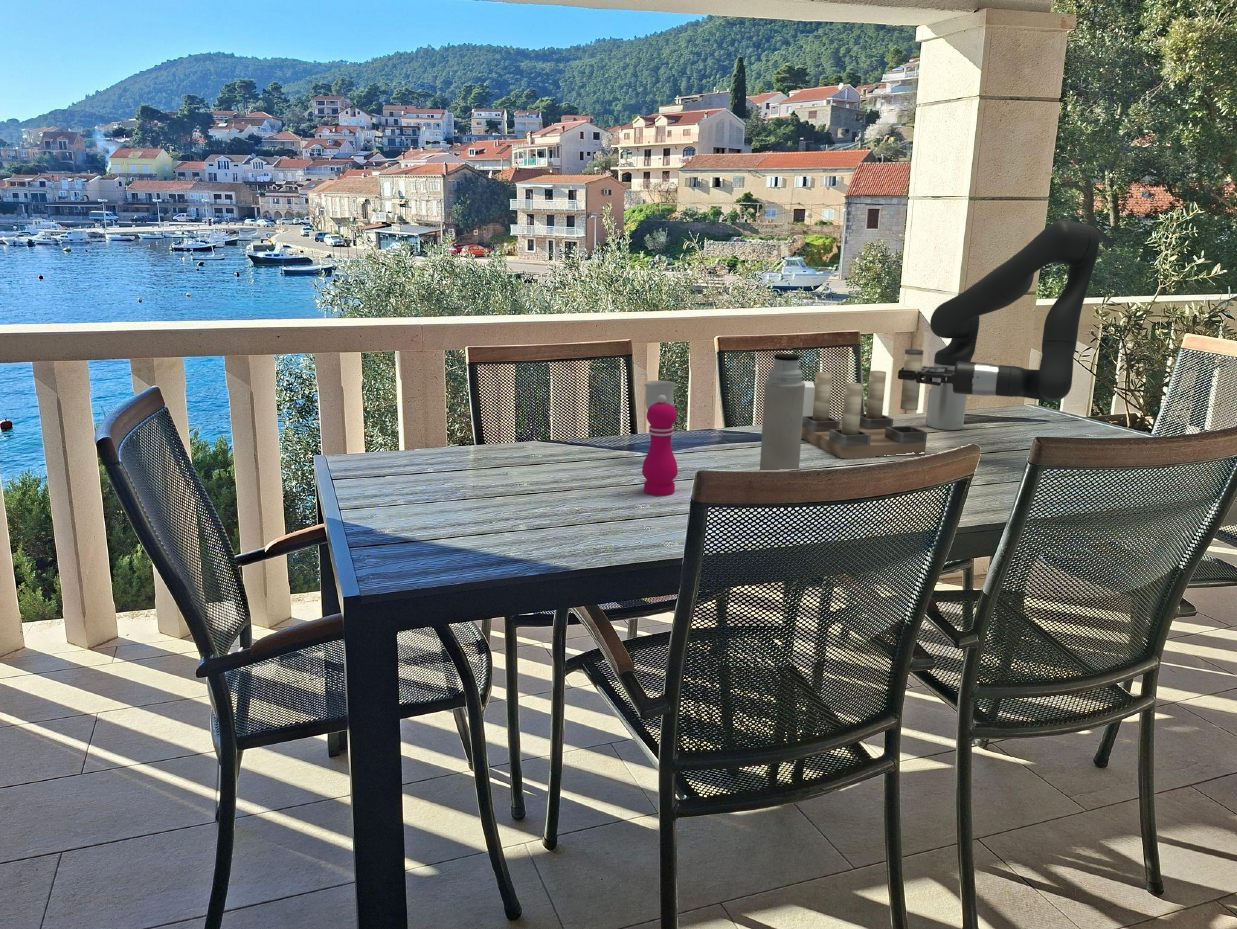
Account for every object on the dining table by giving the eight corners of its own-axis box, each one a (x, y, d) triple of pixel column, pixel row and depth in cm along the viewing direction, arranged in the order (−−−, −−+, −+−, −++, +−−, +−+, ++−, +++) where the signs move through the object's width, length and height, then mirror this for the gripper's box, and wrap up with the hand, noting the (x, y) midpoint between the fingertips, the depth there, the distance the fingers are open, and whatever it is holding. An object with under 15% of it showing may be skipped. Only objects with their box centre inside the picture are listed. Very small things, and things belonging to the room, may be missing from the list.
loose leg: (896, 407, 228) (901, 349, 225) (911, 406, 229) (917, 348, 226) (906, 410, 224) (911, 351, 221) (921, 410, 225) (926, 351, 222)
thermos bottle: (768, 480, 203) (776, 350, 195) (803, 487, 199) (813, 353, 191) (752, 489, 196) (760, 354, 189) (788, 496, 192) (798, 358, 185)
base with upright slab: (787, 424, 257) (790, 380, 254) (821, 426, 256) (824, 382, 253) (788, 431, 248) (791, 386, 245) (823, 433, 247) (826, 388, 244)
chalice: (677, 459, 218) (680, 382, 214) (666, 466, 212) (669, 387, 208) (648, 455, 221) (650, 379, 217) (636, 462, 215) (638, 384, 211)
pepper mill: (663, 498, 189) (666, 399, 183) (634, 491, 193) (636, 395, 188) (683, 490, 194) (687, 394, 189) (654, 484, 198) (657, 390, 193)
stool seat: (800, 437, 242) (804, 371, 238) (877, 433, 248) (883, 369, 243) (842, 459, 222) (848, 387, 217) (924, 454, 227) (932, 384, 223)
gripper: (980, 358, 224) (905, 353, 231) (975, 366, 212) (896, 361, 218) (976, 390, 226) (902, 384, 233) (971, 399, 214) (893, 393, 220)
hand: (900, 372), depth 226 cm, fingers closed on loose leg, 4 cm apart
